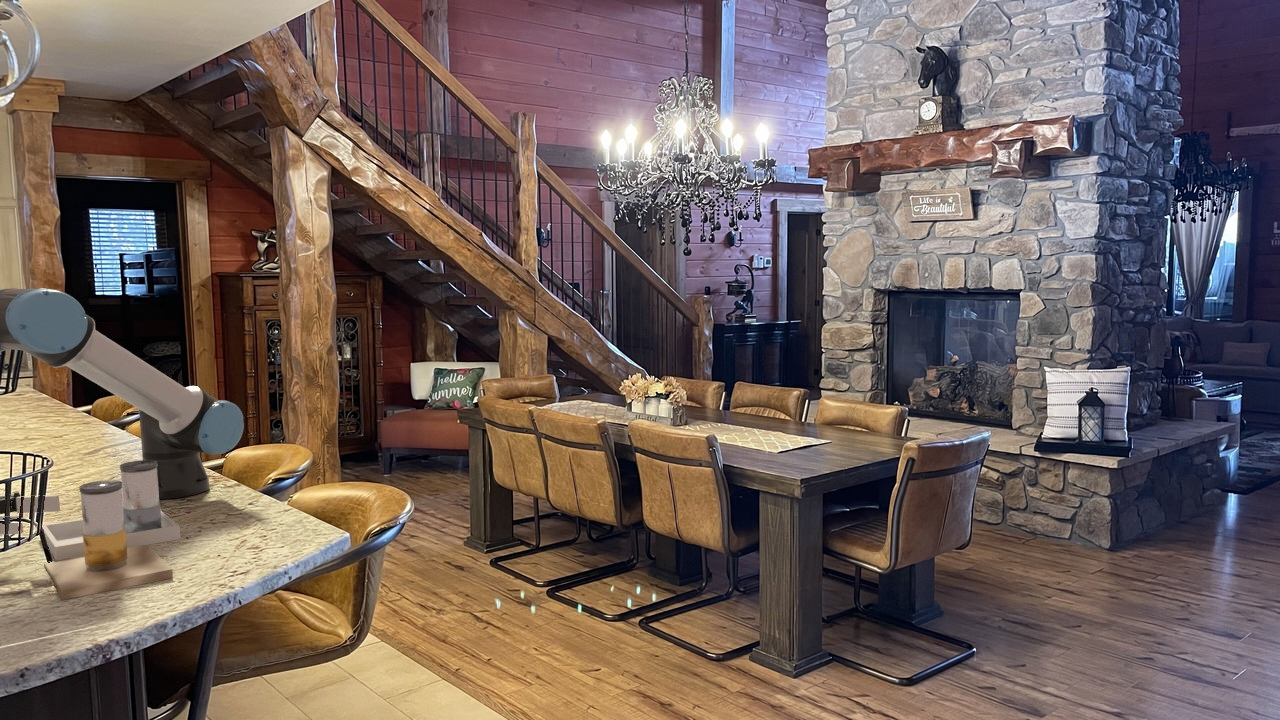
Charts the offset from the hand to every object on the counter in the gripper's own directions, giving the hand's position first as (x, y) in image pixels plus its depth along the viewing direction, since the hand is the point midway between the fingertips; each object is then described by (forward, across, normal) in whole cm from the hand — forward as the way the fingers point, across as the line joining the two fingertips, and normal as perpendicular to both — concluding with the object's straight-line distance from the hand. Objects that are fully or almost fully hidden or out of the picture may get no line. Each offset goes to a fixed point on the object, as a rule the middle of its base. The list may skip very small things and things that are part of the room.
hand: (41, 513), depth 160 cm
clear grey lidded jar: (+9, -19, -10) cm, 23 cm away
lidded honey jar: (+10, 0, -10) cm, 14 cm away
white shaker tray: (+4, -19, -11) cm, 22 cm away
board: (+10, 0, -11) cm, 15 cm away
